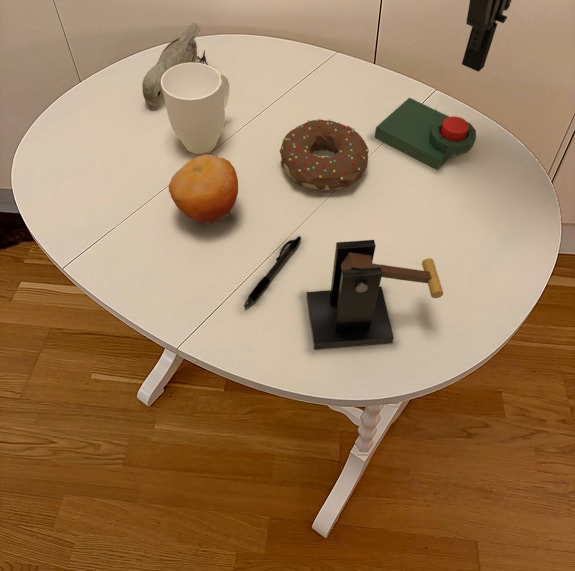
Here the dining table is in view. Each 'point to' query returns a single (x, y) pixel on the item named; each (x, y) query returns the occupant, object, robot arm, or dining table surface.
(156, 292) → the dining table surface
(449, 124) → the button
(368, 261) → the lever
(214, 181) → the fruit
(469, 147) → the button block
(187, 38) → the decorative bird
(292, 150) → the donut
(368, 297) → the switch bracket
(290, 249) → the pen
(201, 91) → the mug
